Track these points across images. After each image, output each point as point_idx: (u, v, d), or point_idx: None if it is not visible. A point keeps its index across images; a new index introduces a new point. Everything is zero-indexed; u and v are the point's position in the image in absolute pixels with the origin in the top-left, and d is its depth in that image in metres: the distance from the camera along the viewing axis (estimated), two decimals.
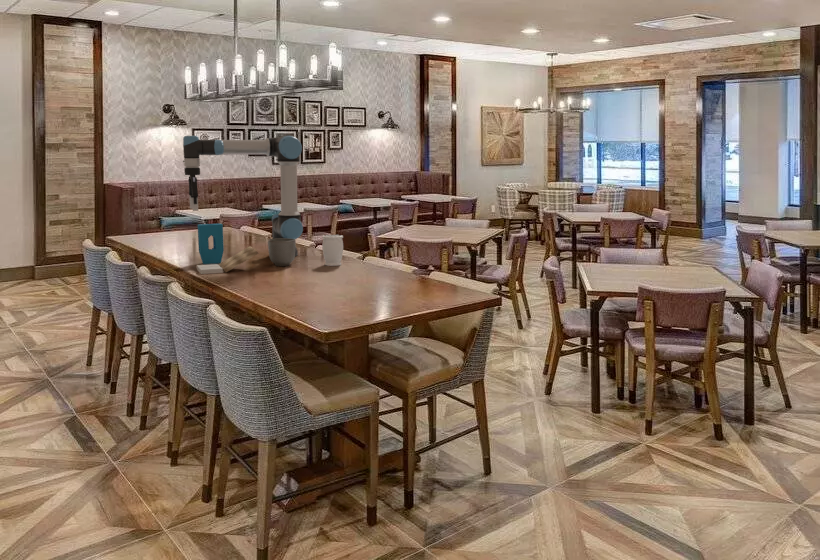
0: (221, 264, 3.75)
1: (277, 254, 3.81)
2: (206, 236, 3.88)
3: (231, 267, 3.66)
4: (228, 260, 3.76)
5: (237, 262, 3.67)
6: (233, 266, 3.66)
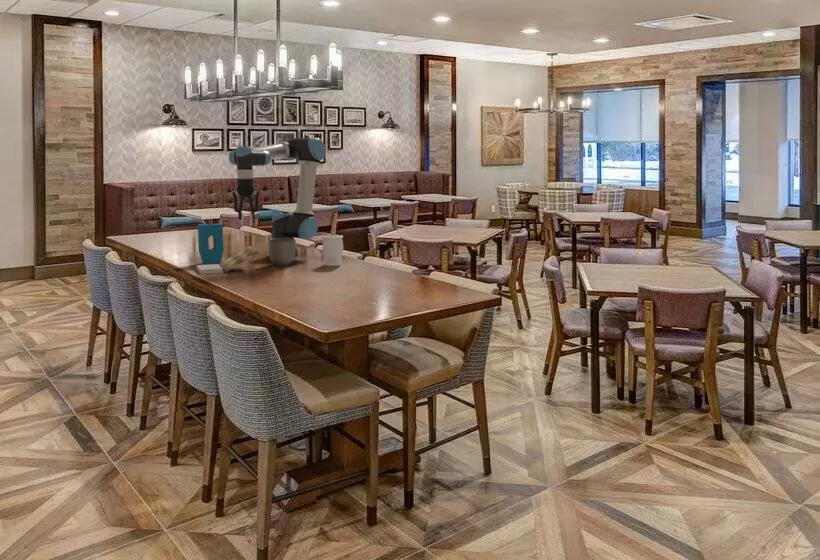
0: (221, 264, 3.75)
1: (277, 254, 3.81)
2: (206, 236, 3.88)
3: (231, 267, 3.66)
4: (228, 260, 3.76)
5: (237, 262, 3.67)
6: (233, 266, 3.66)
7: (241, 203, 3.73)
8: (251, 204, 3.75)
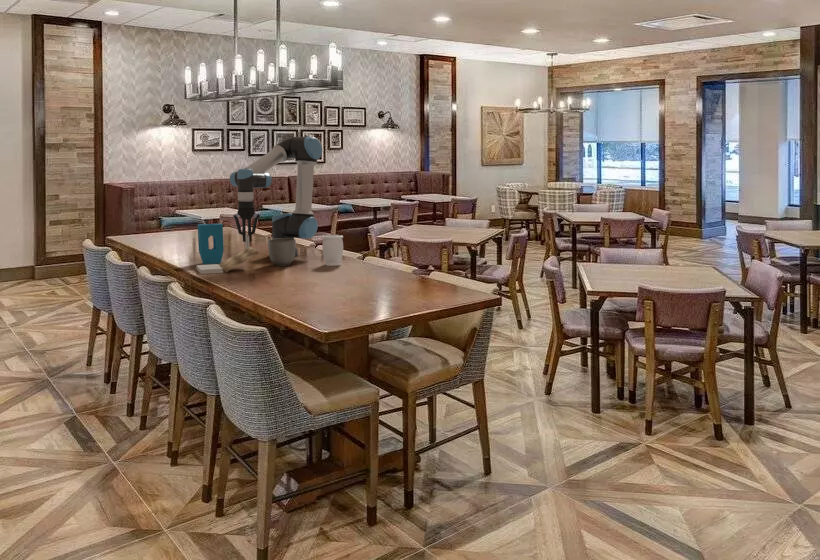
0: (221, 264, 3.75)
1: (277, 254, 3.81)
2: (206, 236, 3.88)
3: (231, 267, 3.66)
4: (228, 260, 3.76)
5: (237, 262, 3.67)
6: (233, 266, 3.66)
7: (244, 225, 3.76)
8: (249, 226, 3.77)
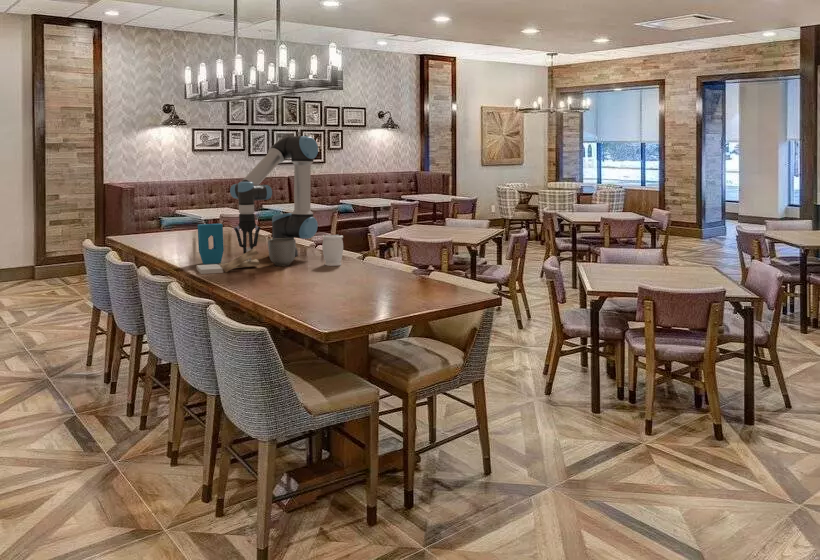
0: (223, 264, 3.75)
1: (277, 254, 3.81)
2: (206, 236, 3.88)
3: (231, 267, 3.66)
4: None
5: (237, 262, 3.67)
6: (233, 266, 3.66)
7: (244, 238, 3.77)
8: (251, 239, 3.78)
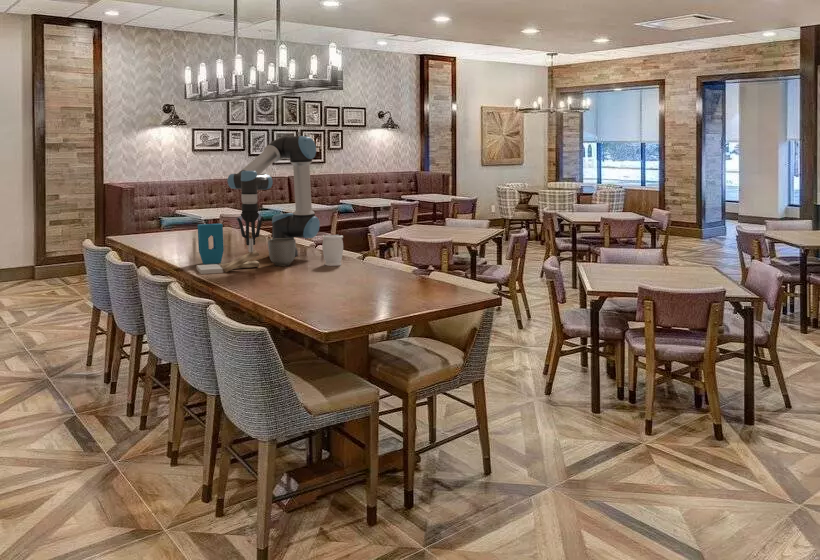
0: (223, 264, 3.75)
1: (277, 254, 3.81)
2: (206, 236, 3.88)
3: (231, 267, 3.66)
4: None
5: (238, 263, 3.67)
6: (233, 266, 3.66)
7: (247, 228, 3.68)
8: (253, 229, 3.69)
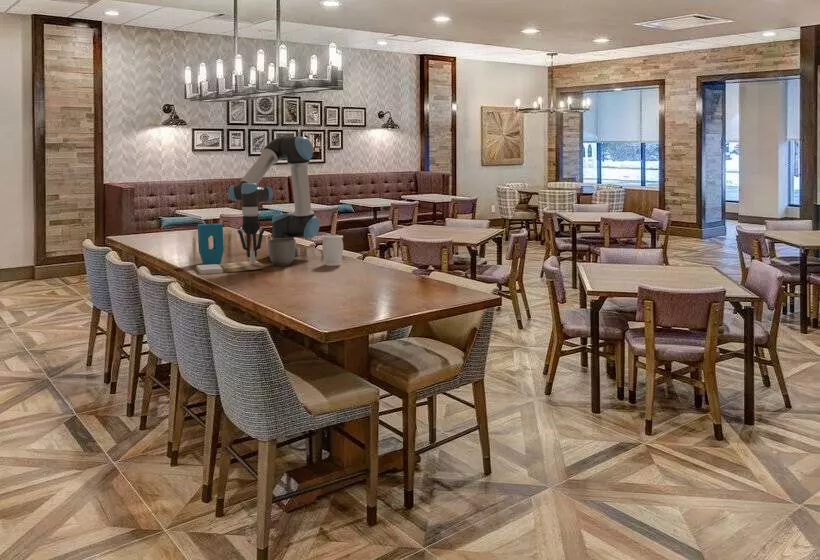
0: (223, 264, 3.75)
1: (277, 254, 3.81)
2: (206, 236, 3.88)
3: (233, 270, 3.67)
4: (231, 264, 3.77)
5: (240, 268, 3.68)
6: (235, 270, 3.67)
7: (248, 241, 3.69)
8: (254, 241, 3.70)
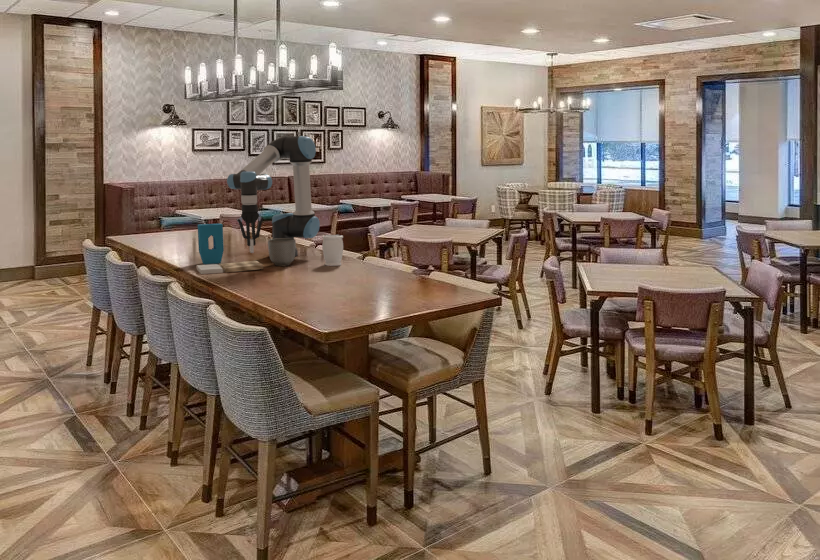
0: (223, 264, 3.75)
1: (277, 254, 3.81)
2: (206, 236, 3.88)
3: (233, 270, 3.67)
4: (231, 264, 3.77)
5: (240, 268, 3.68)
6: (235, 270, 3.67)
7: (248, 229, 3.69)
8: (253, 230, 3.70)
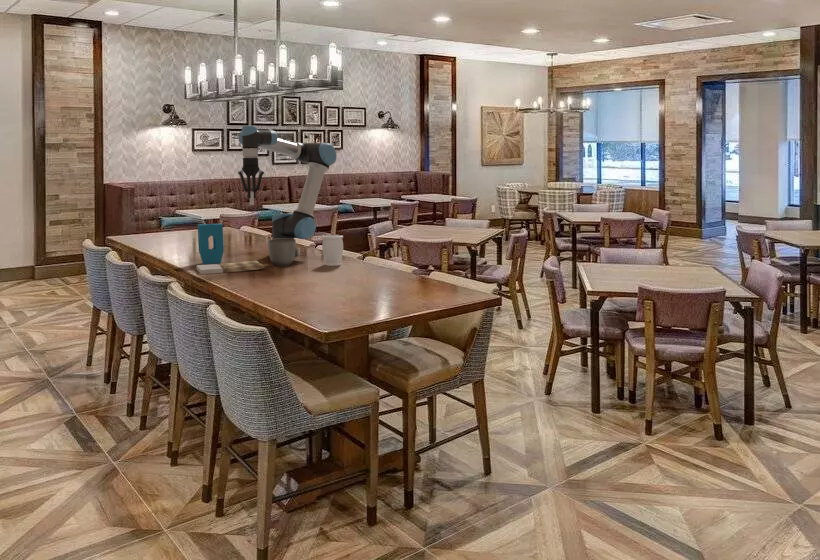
0: (223, 264, 3.75)
1: (277, 254, 3.81)
2: (206, 236, 3.88)
3: (233, 270, 3.67)
4: (231, 264, 3.77)
5: (240, 268, 3.68)
6: (235, 270, 3.67)
7: (249, 182, 3.81)
8: (254, 183, 3.82)
